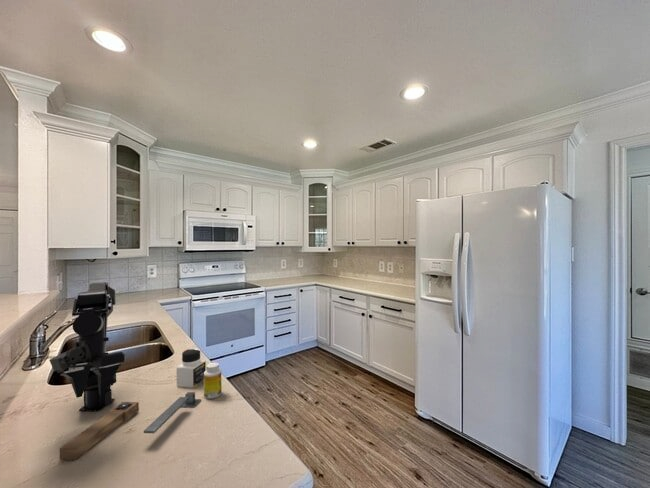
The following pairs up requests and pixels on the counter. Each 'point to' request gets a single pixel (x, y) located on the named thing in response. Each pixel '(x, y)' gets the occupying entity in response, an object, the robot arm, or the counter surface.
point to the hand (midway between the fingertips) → (90, 396)
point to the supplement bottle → (212, 381)
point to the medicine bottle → (191, 369)
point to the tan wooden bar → (97, 431)
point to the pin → (123, 406)
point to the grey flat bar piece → (173, 411)
